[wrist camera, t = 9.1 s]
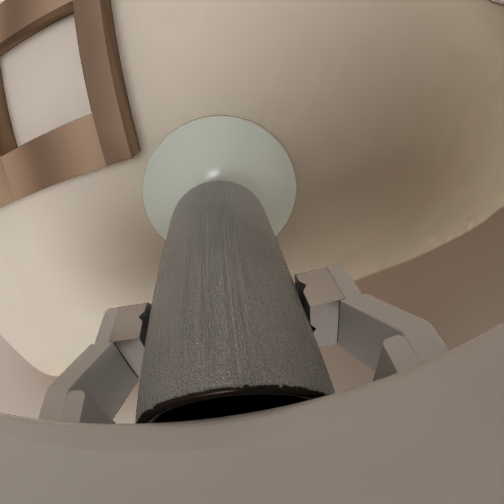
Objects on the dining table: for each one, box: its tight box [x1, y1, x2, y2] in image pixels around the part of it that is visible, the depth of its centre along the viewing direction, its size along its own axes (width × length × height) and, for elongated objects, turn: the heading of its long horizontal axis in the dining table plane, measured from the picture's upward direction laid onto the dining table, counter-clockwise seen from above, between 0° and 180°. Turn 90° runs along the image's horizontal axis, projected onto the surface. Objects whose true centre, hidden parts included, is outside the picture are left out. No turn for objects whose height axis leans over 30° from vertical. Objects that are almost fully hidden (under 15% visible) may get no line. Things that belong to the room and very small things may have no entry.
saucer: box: [142, 115, 296, 241], centre depth 17 cm, size 9×9×1 cm
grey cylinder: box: [135, 180, 335, 424], centre depth 10 cm, size 4×4×10 cm
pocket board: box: [0, 0, 140, 207], centre depth 11 cm, size 16×13×2 cm
